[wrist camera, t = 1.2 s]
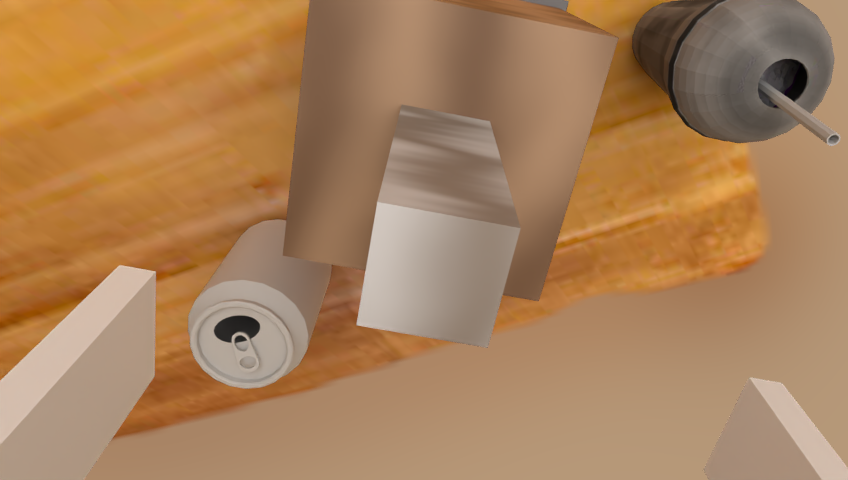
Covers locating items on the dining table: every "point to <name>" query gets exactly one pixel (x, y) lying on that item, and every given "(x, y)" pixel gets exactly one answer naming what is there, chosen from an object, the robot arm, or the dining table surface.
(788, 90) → the beverage cup
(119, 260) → the dining table surface
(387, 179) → the wooden block with peg
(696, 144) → the dining table surface
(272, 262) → the can
